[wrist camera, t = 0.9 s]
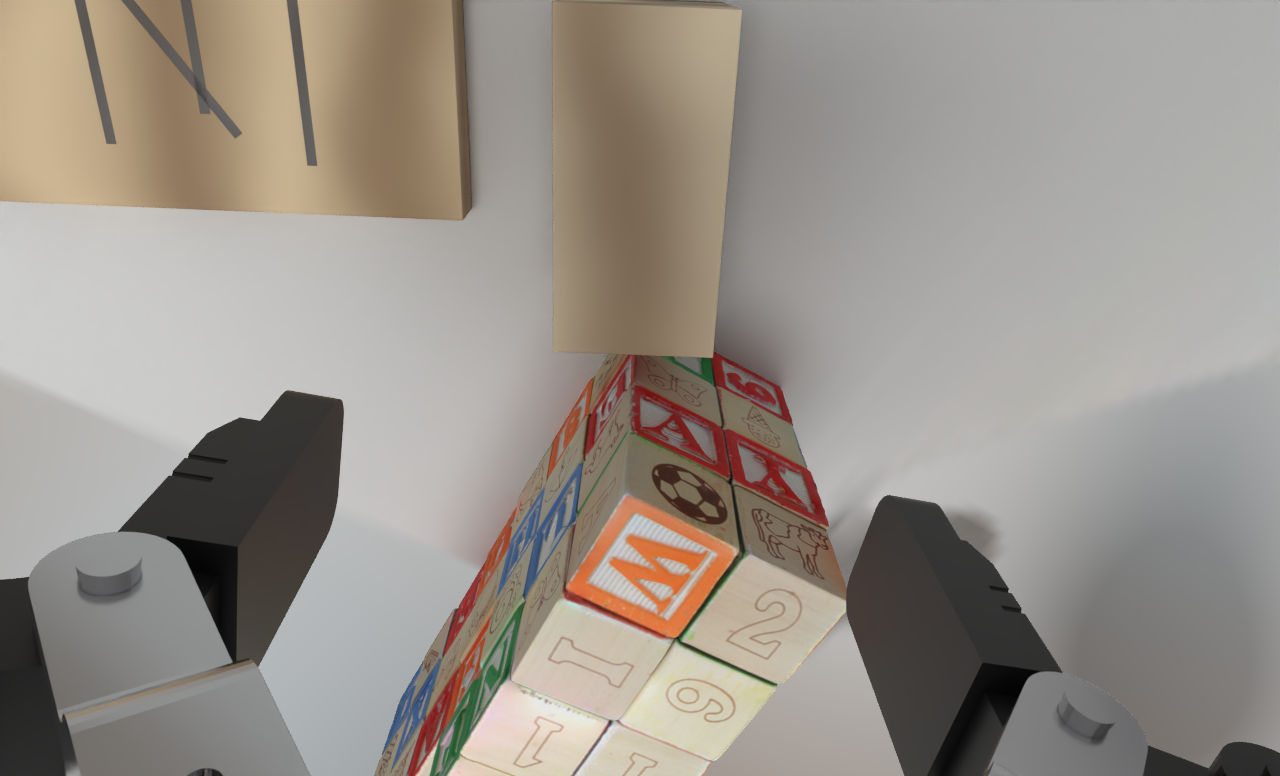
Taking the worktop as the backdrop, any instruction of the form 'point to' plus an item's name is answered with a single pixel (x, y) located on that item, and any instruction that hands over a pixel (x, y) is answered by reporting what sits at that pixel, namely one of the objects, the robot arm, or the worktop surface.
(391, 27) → the board
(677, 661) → the stack of blocks
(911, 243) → the worktop surface
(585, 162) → the block
